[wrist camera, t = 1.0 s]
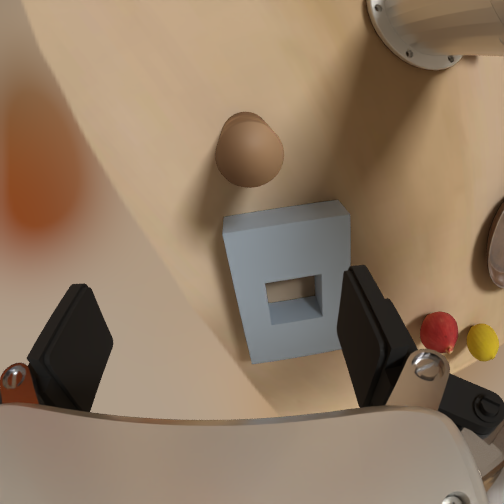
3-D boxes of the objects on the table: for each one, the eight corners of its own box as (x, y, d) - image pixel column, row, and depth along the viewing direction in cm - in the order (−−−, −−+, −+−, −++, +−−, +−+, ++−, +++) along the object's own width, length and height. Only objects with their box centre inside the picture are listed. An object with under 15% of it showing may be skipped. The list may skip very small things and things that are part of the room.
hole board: (338, 199, 32) (350, 214, 29) (338, 327, 41) (346, 347, 37) (223, 216, 33) (222, 233, 29) (250, 341, 41) (252, 364, 38)
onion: (448, 297, 40) (474, 332, 33) (438, 326, 43) (460, 361, 36) (416, 303, 40) (442, 341, 33) (408, 333, 43) (429, 371, 36)
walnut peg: (265, 108, 27) (279, 117, 19) (271, 153, 30) (287, 182, 21) (218, 116, 28) (209, 128, 19) (226, 160, 30) (222, 192, 21)
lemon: (478, 333, 45) (499, 362, 38) (456, 342, 46) (476, 374, 39) (486, 310, 43) (510, 340, 36) (463, 319, 43) (486, 352, 36)
